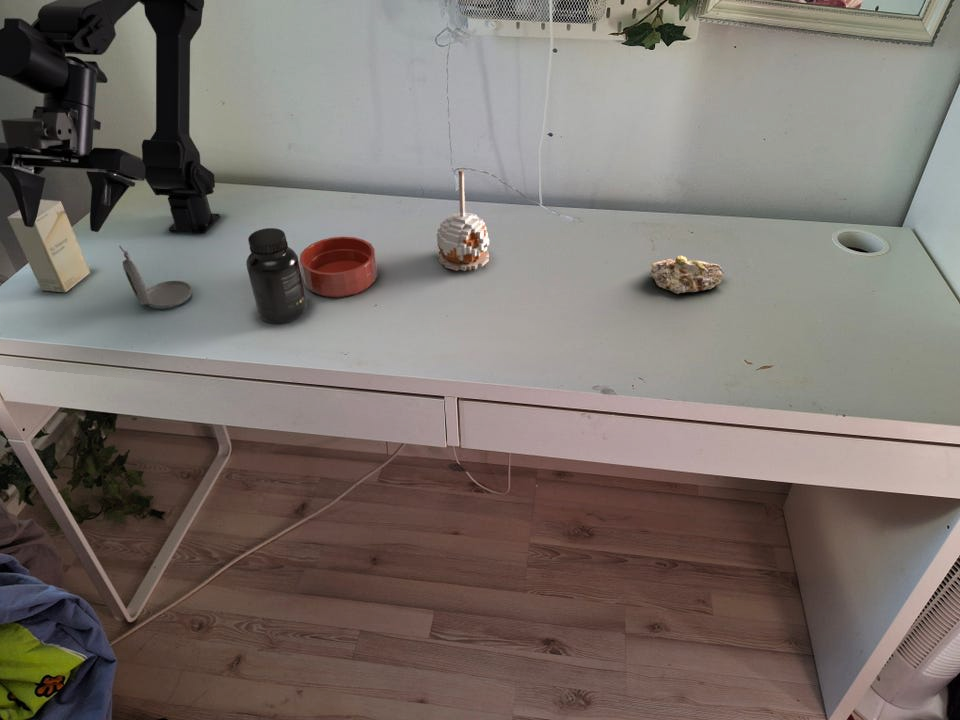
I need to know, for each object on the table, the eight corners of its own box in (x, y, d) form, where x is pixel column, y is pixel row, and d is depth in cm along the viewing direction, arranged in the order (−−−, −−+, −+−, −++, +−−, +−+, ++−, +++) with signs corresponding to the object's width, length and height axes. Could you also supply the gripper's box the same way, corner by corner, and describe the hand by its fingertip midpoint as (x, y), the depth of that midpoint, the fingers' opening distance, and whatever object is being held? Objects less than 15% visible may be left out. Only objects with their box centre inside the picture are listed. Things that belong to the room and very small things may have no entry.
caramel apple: (473, 278, 108) (471, 186, 99) (429, 265, 111) (423, 175, 102) (497, 255, 114) (497, 165, 104) (455, 244, 117) (451, 155, 107)
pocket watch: (202, 290, 107) (183, 230, 100) (165, 321, 100) (143, 259, 94) (157, 281, 109) (136, 222, 103) (118, 311, 103) (94, 250, 96)
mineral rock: (655, 283, 102) (651, 243, 107) (649, 302, 106) (646, 263, 110) (731, 287, 102) (724, 247, 106) (722, 307, 105) (716, 267, 110)
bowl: (319, 257, 114) (315, 234, 111) (385, 263, 112) (383, 239, 110) (293, 295, 105) (288, 271, 103) (365, 301, 104) (362, 277, 101)
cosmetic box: (66, 294, 106) (33, 220, 99) (39, 291, 107) (5, 217, 100) (92, 272, 111) (62, 200, 104) (66, 269, 112) (35, 197, 104)
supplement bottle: (304, 293, 106) (289, 220, 98) (310, 319, 100) (295, 243, 93) (256, 302, 104) (238, 228, 96) (261, 328, 99) (241, 252, 91)
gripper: (-51, 80, 84) (-59, 213, 85) (94, 86, 82) (85, 223, 82) (21, 111, 95) (14, 228, 96) (151, 117, 93) (143, 237, 93)
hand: (61, 229), depth 92 cm, fingers open, 9 cm apart
